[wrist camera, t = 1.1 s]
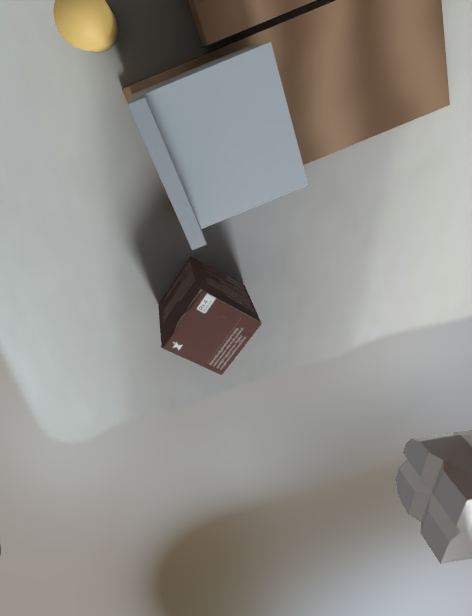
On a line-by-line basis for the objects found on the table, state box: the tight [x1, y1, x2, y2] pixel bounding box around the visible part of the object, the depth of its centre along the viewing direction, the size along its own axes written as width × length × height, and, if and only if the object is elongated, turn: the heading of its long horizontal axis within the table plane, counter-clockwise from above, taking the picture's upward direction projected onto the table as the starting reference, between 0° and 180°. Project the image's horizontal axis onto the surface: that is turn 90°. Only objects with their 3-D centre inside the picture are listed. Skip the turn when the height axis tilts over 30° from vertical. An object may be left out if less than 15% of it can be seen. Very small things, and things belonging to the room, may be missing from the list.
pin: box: [54, 0, 118, 52], centre depth 27 cm, size 3×3×7 cm
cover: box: [128, 42, 308, 250], centre depth 30 cm, size 9×9×9 cm
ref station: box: [122, 0, 450, 165], centre depth 32 cm, size 24×10×6 cm, turn 109°
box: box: [159, 256, 261, 375], centre depth 38 cm, size 6×6×7 cm
